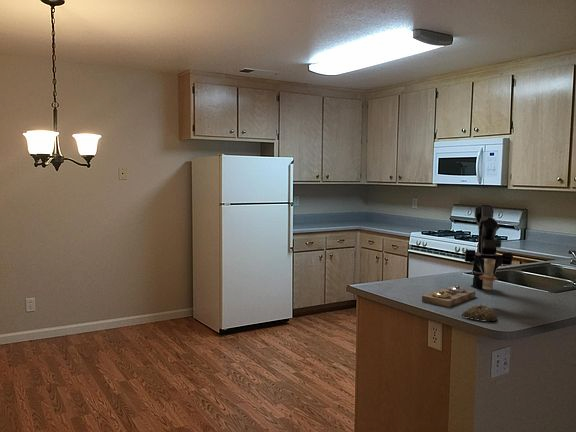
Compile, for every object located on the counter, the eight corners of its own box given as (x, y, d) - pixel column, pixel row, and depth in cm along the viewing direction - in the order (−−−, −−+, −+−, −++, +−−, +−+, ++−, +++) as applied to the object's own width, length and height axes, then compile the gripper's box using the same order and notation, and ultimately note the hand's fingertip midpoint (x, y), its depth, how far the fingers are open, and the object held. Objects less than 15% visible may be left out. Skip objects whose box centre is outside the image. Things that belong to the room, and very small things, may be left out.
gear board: (449, 291, 232) (450, 286, 232) (475, 296, 224) (475, 291, 224) (421, 301, 213) (422, 295, 213) (448, 307, 205) (448, 301, 205)
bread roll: (494, 324, 184) (495, 311, 184) (459, 319, 190) (460, 306, 190) (498, 316, 195) (499, 303, 195) (465, 311, 201) (466, 299, 201)
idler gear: (488, 286, 215) (490, 257, 214) (500, 290, 208) (502, 260, 207) (474, 286, 213) (476, 257, 211) (486, 291, 206) (488, 261, 205)
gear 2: (452, 287, 229) (453, 283, 229) (469, 290, 224) (469, 286, 224) (444, 290, 224) (444, 285, 223) (461, 293, 218) (462, 289, 218)
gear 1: (437, 292, 218) (437, 288, 218) (454, 296, 213) (454, 291, 213) (428, 295, 213) (428, 291, 213) (445, 299, 207) (446, 294, 207)
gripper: (466, 231, 214) (466, 260, 205) (514, 233, 209) (516, 264, 200) (464, 246, 223) (464, 275, 213) (510, 249, 217) (511, 279, 208)
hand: (488, 273), depth 208 cm, fingers closed on idler gear, 4 cm apart
